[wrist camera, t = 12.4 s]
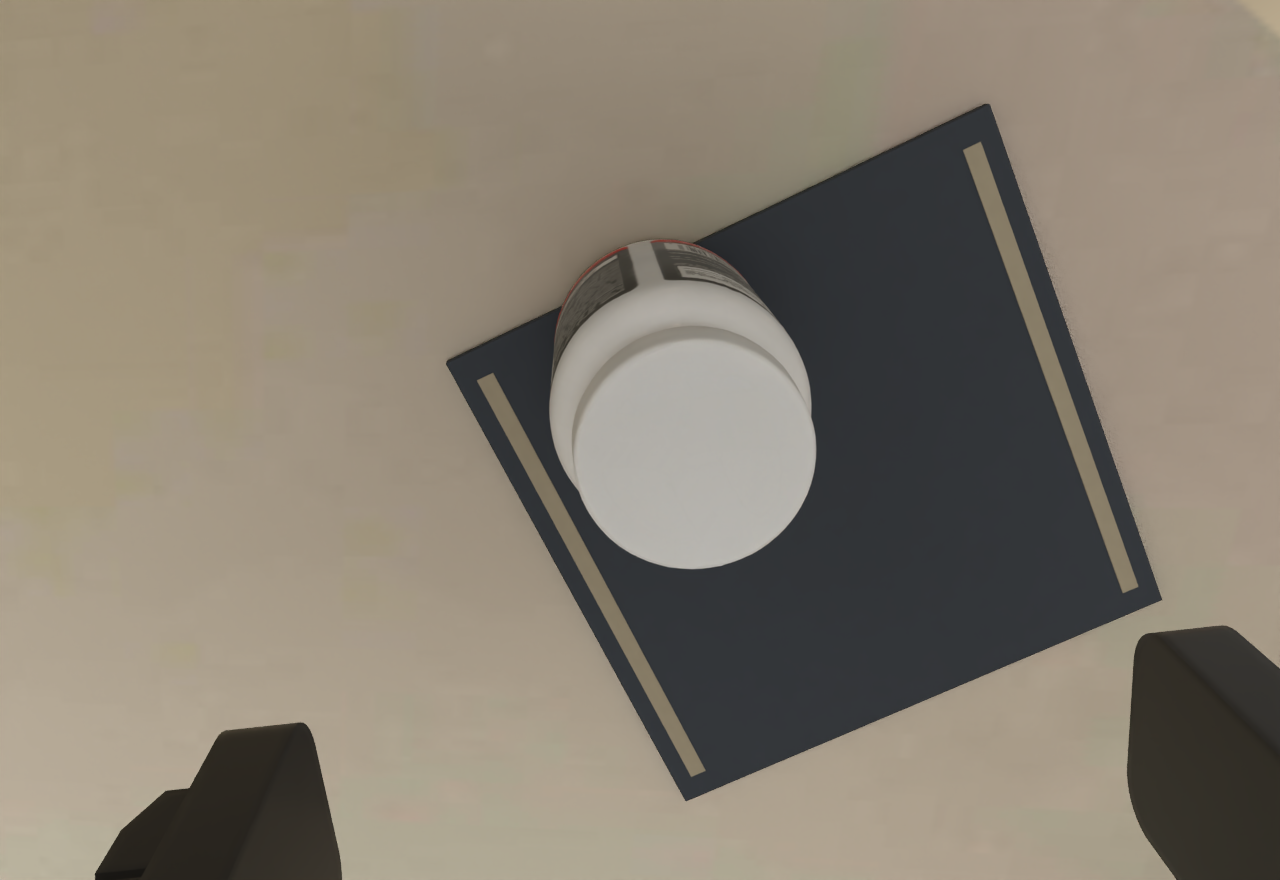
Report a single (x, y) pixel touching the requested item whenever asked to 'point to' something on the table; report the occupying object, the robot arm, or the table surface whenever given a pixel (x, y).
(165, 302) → the table surface
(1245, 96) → the table surface
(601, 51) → the table surface
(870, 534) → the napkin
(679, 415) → the pill bottle
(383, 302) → the table surface
